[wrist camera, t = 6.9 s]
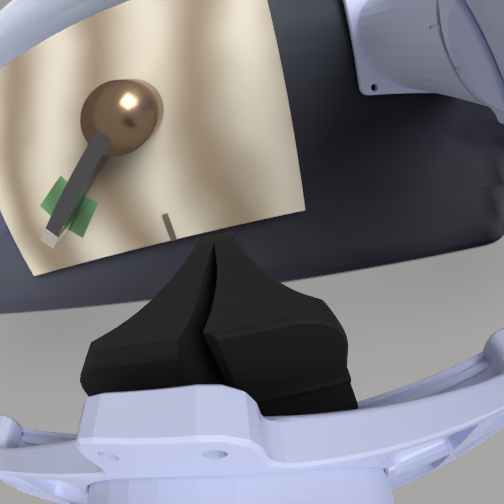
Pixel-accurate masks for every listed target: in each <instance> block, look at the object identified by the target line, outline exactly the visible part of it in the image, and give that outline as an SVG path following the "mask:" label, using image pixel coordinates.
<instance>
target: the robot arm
mask: <svg viewBox="0 0 504 504" xmlns="http://www.w3.org/2000/svg"><path fill="white" fill-rule="evenodd" d="M343 3H344V8H345V12H346V17H347V21H348V26H349V31H350V36H351V42H352V47H353V53H354V59H355V65H356V71H357V78H358V85H359V90H360V92H361V93H362V94H364V95H380V94H401V93H438V94H442V95H447V96H451V97H455V98H459V99H463V100H467V101H471V102H474V103H478V104H481V105H485V106H488V107H490V108H491V109H492V110H493V111H494V113H495V114H496V116H497V119H498V121H499V122H500V123H503V124H504V0H343ZM372 84H374V85H375V90H374V91H373V90H372V89H371V86H372ZM347 355H348V342H347V336H346V334H345V332H344V329H343V328H342V326H341V324H340V323H339V321H338V320H337V318H336V316H335V315H334V314H333V312H332V311H331V310H330V308H329V307H328V306H327V305H326V303H325V302H324V301H323V300H321V299H318V298H314V297H311V296H308V295H305V294H302V293H299V292H297V291H295V290H292V289H290V288H288V287H287V286H285V285H283V284H281V283H280V282H278V281H276V280H275V279H274V278H272V277H271V276H269V275H268V274H267V273H266V272H264V271H263V270H262V269H261V268H260V267H259V266H258V265H257V264H256V263H255V262H254V261H253V260H252V259H251V258H250V257H249V256H248V255H247V253H246V252H245V251H244V250H243V248H242V247H241V245H240V244H239V242H238V240H237V238H236V234H235V233H234V232H233V231H229V232H224V233H220V234H216V235H211V236H207V237H202V238H200V240H199V241H198V243H197V244H196V246H195V247H194V249H193V250H192V252H191V253H190V255H189V256H188V258H187V259H186V261H185V262H184V264H183V265H182V266H181V268H180V269H179V270H178V271H177V273H176V274H175V275H174V277H173V278H172V279H171V280H170V282H169V283H168V284H167V285H166V286H165V287H164V288H163V289H162V290H161V291H160V292H159V294H158V295H157V296H156V297H155V298H153V299H152V300H151V301H150V302H149V303H148V304H147V305H146V306H144V307H143V308H142V309H141V310H140V311H139V312H137V313H136V314H135V315H133V316H132V317H131V318H130V319H128V320H127V321H125V322H124V323H122V324H121V325H120V326H118V327H117V328H115V329H113V330H112V331H110V332H109V333H107V334H105V335H103V336H102V337H100V338H98V339H96V340H95V341H93V342H91V344H90V347H89V350H88V353H87V356H86V359H85V363H84V366H83V369H82V372H81V377H80V382H81V385H82V387H83V389H84V391H85V392H86V393H87V395H88V396H89V397H87V399H86V401H85V404H84V406H83V410H82V414H81V419H80V423H79V427H78V432H77V434H66V433H56V432H47V431H38V430H32V429H25V428H22V426H21V425H20V424H19V423H18V422H16V421H15V420H14V419H12V418H10V417H8V416H4V415H0V480H2V481H3V482H5V483H7V484H9V485H10V486H12V487H14V488H16V489H17V490H19V491H22V492H24V493H27V494H30V495H33V496H37V497H39V498H42V499H46V500H48V501H52V502H55V503H58V504H395V503H394V500H393V497H392V493H391V490H392V489H395V488H397V487H399V486H402V485H404V484H406V483H408V482H410V481H412V480H415V479H417V478H419V477H421V476H423V475H425V474H427V473H429V472H431V471H433V470H435V469H437V468H439V467H441V466H443V465H444V464H446V463H448V462H450V461H452V460H453V459H455V458H457V457H459V456H460V455H462V454H464V453H465V452H467V451H469V450H470V449H472V448H473V447H475V446H477V445H478V444H480V443H482V442H483V441H485V440H486V439H488V438H489V437H491V436H492V435H494V434H495V433H497V432H498V431H500V430H501V429H502V428H504V328H503V329H501V330H499V331H497V332H495V333H494V334H493V335H492V336H491V337H490V338H489V339H488V341H487V342H486V344H485V347H484V349H483V352H482V353H480V354H478V355H476V356H474V357H472V358H470V359H468V360H466V361H464V362H461V363H460V364H457V365H455V366H453V367H451V368H448V369H446V370H444V371H442V372H439V373H437V374H434V375H432V376H430V377H427V378H425V379H422V380H420V381H418V382H415V383H412V384H409V385H407V386H404V387H401V388H399V389H396V390H393V391H390V392H387V393H384V394H381V395H378V396H375V397H372V398H369V399H366V400H363V401H359V402H357V401H356V398H355V395H354V392H353V389H352V387H351V384H350V383H351V377H350V374H349V371H348V369H347Z"/></svg>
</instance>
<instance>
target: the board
mask: <svg viewBox="0 0 504 504" xmlns="http://www.w3.org/2000/svg"><path fill="white" fill-rule="evenodd" d="M121 79H140V80H144V81H146V82H148V83H150V84H151V85H152V86H154V87H155V88H156V90H157V91H158V92H159V94H160V96H161V98H162V101H163V107H164V112H163V118H162V121H161V124H160V126H159V128H158V129H157V131H156V132H155V133H154V134H153V135H152V136H151V137H150V138H149V139H148V140H147V141H146V142H145V143H144V144H143V145H141V146H140V147H139V148H138V149H137V150H135V151H134V152H132V153H130V154H127V155H124V156H117V157H116V156H109V158H108V160H107V161H106V163H105V164H104V166H103V168H102V169H101V171H100V172H99V174H98V176H97V177H96V179H95V181H94V182H93V184H92V186H91V188H90V189H89V191H88V193H87V195H86V196H85V198H84V200H83V202H82V204H81V205H80V207H79V209H78V211H77V213H76V215H75V218H74V220H73V222H72V224H71V226H70V228H69V229H68V230H67V232H66V233H65V234H64V235H63V237H62V238H61V239H60V241H59V242H58V243H57V245H56V246H55V247H54V249H52V248H51V247H50V246H48V245H47V244H45V243H44V242H43V241H41V240H40V238H41V236H42V233H43V231H44V229H45V227H46V226H47V224H48V222H49V219H50V217H51V215H52V213H53V211H54V208H55V206H56V204H57V202H58V200H59V198H60V196H61V194H62V192H63V190H64V188H65V186H66V184H67V182H68V180H69V178H70V176H71V174H72V173H73V171H74V169H75V167H76V165H77V163H78V162H79V160H80V158H81V156H82V155H83V153H84V151H85V149H86V148H87V146H88V143H87V141H86V140H85V138H84V136H83V133H82V130H81V125H80V116H81V110H82V107H83V104H84V102H85V100H86V98H87V97H88V96H89V94H90V93H91V92H92V91H93V90H94V89H95V88H97V87H98V86H99V85H101V84H103V83H105V82H108V81H112V80H121ZM304 210H305V204H304V196H303V189H302V182H301V175H300V168H299V162H298V155H297V149H296V143H295V137H294V131H293V125H292V119H291V113H290V108H289V102H288V97H287V91H286V86H285V81H284V76H283V71H282V66H281V61H280V56H279V51H278V46H277V42H276V37H275V32H274V28H273V24H272V19H271V15H270V11H269V6H268V2H267V0H130V1H127V2H125V3H122V4H119V5H117V6H114V7H112V8H109V9H107V10H105V11H102V12H100V13H98V14H95V15H93V16H91V17H89V18H87V19H85V20H82V21H80V22H78V23H76V24H74V25H72V26H70V27H68V28H66V29H64V30H63V31H61V32H59V33H57V34H55V35H53V36H51V37H50V38H48V39H46V40H44V41H43V42H41V43H39V44H38V45H36V46H34V47H33V48H31V49H30V50H28V51H26V52H25V53H23V54H22V55H20V56H19V57H17V58H16V59H14V60H13V61H11V62H10V63H8V64H7V65H5V66H4V67H3V68H1V69H0V211H1V213H2V215H3V217H4V220H5V222H6V224H7V226H8V228H9V230H10V232H11V234H12V236H13V238H14V240H15V242H16V244H17V246H18V248H19V250H20V252H21V253H22V255H23V257H24V259H25V261H26V263H27V264H28V266H29V268H30V270H31V271H32V273H33V275H34V276H36V275H40V274H44V273H47V272H51V271H55V270H58V269H62V268H66V267H69V266H73V265H77V264H80V263H84V262H88V261H92V260H96V259H99V258H103V257H107V256H111V255H115V254H119V253H123V252H127V251H131V250H135V249H139V248H143V247H147V246H151V245H155V244H159V243H163V242H167V241H174V240H177V239H179V238H184V237H188V236H192V235H196V234H200V233H205V232H209V231H213V230H218V229H222V228H226V227H231V226H235V225H240V224H244V223H248V222H253V221H257V220H262V219H267V218H271V217H276V216H280V215H285V214H290V213H294V212H299V211H304Z"/></svg>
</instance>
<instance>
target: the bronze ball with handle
mask: <svg viewBox="0 0 504 504" xmlns="http://www.w3.org/2000/svg"><path fill="white" fill-rule="evenodd" d="M163 112H164V107H163V101H162V98H161V96H160V94H159V92H158V91H157V90H156V88H155V87H154V86H152V85H151V84H150V83H148V82H146V81H144V80H140V79H121V80H112V81H108V82H105V83H103V84H101V85H99V86H98V87H97V88H95V89H94V90H93V91H92V92H91V93H90V94H89V96H88V97H87V98H86V100H85V102H84V104H83V107H82V110H81V116H80V125H81V130H82V133H83V136H84V138H85V140H86V141H87V143H88V146H87V148H86V149H85V151H84V153H83V155H82V156H81V158H80V160H79V162H78V163H77V165H76V167H75V169H74V171H73V173H72V174H71V176H70V178H69V180H68V182H67V184H66V186H65V188H64V190H63V192H62V194H61V196H60V198H59V200H58V202H57V204H56V206H55V208H54V211H53V213H52V215H51V217H50V219H49V222H48V224H47V226H46V227H45V229H44V231H43V233H42V236H41V238H40V240H41V241H43V242H44V243H45V244H47V245H48V246H50V247H51V248H52V249H54V247H55V246H56V245H57V243H58V242H59V241H60V239H61V238H62V237H63V235H64V234H65V233H66V232H67V230H68V229H69V228H70V226H71V224H72V222H73V220H74V218H75V215H76V213H77V211H78V209H79V207H80V205H81V204H82V202H83V200H84V198H85V196H86V195H87V193H88V191H89V189H90V188H91V186H92V184H93V182H94V181H95V179H96V177H97V176H98V174H99V172H100V171H101V169H102V168H103V166H104V164H105V163H106V161H107V160H108V158H109V156H116V157H117V156H124V155H127V154H130V153H132V152H134V151H135V150H137V149H138V148H139V147H140V146H141V145H143V144H144V143H145V142H146V141H147V140H148V139H149V138H150V137H151V136H152V135H153V134H154V133H155V132H156V131H157V129H158V128H159V126H160V124H161V121H162V118H163Z"/></svg>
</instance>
